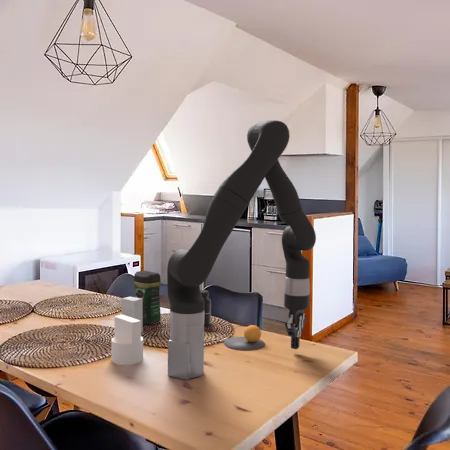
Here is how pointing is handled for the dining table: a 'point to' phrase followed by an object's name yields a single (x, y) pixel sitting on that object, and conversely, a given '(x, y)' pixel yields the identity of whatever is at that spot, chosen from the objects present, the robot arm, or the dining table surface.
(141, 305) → the skincare box
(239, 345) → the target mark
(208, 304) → the supplement bottle
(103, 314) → the dining table surface
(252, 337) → the ball
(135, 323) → the cylinder with rectangular tab
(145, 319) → the coffee jar
